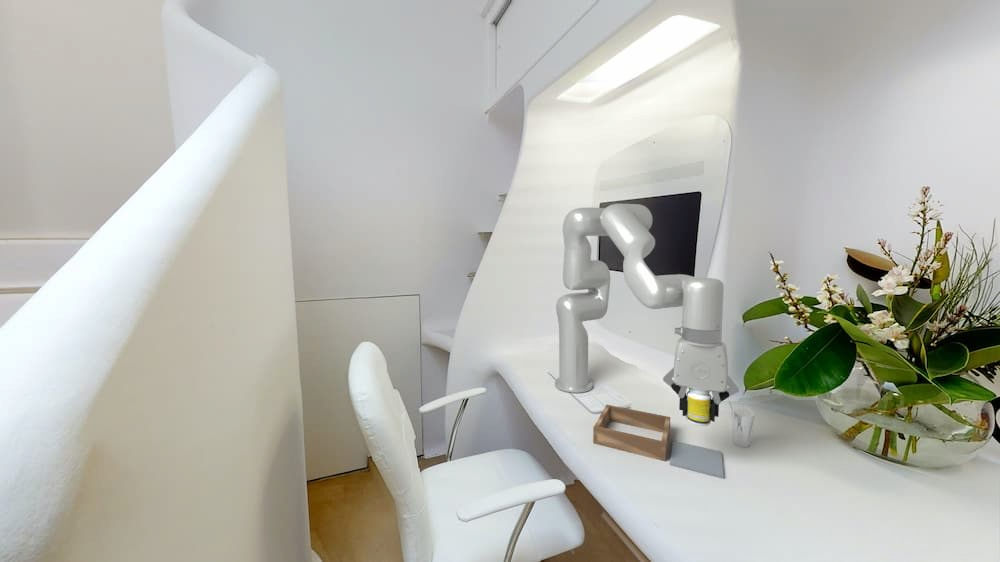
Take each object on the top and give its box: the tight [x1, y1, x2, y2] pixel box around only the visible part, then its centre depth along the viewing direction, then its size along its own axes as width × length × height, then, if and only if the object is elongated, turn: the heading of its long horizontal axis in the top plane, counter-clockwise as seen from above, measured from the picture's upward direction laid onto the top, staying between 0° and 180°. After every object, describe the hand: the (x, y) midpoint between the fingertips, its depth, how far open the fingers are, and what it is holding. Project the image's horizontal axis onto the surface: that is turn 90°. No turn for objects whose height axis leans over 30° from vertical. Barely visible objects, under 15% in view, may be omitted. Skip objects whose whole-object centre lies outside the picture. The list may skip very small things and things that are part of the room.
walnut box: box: [592, 404, 671, 462], centre depth 90 cm, size 14×16×4 cm
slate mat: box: [669, 440, 725, 479], centre depth 81 cm, size 10×10×1 cm
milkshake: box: [727, 399, 755, 448], centre depth 87 cm, size 4×5×10 cm
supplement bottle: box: [685, 388, 712, 427], centre depth 80 cm, size 5×5×8 cm
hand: (698, 415), depth 80 cm, fingers closed on supplement bottle, 4 cm apart
